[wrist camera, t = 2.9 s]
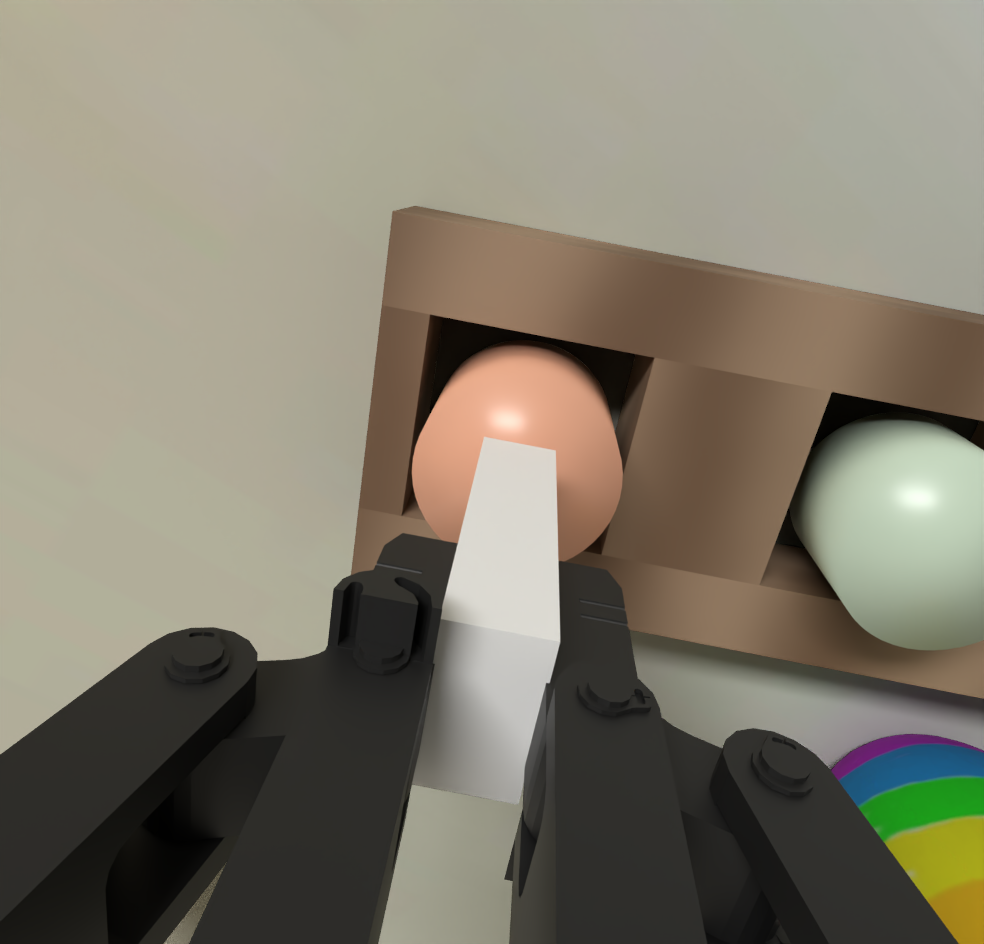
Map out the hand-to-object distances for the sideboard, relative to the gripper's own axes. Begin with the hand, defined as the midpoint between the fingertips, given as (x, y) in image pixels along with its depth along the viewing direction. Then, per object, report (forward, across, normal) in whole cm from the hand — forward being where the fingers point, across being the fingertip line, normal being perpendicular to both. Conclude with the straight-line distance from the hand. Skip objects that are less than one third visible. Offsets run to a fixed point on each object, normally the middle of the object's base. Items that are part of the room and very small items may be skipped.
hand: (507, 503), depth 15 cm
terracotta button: (+5, 0, 0) cm, 5 cm away
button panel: (+7, -10, 0) cm, 12 cm away
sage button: (+5, -10, 0) cm, 11 cm away
